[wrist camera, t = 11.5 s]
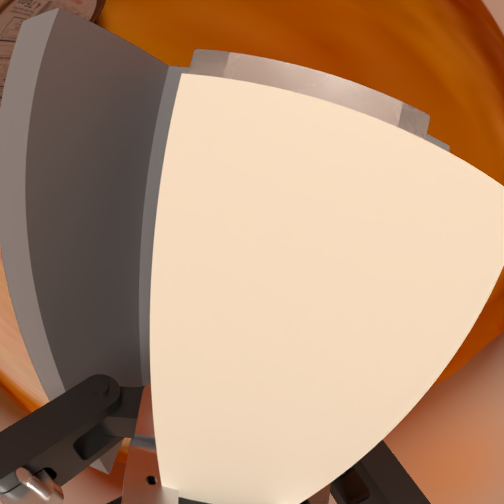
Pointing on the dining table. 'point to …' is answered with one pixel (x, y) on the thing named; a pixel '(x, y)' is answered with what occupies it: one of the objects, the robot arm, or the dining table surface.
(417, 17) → the dining table surface
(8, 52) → the tin
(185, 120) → the door
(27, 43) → the hinge bracket
